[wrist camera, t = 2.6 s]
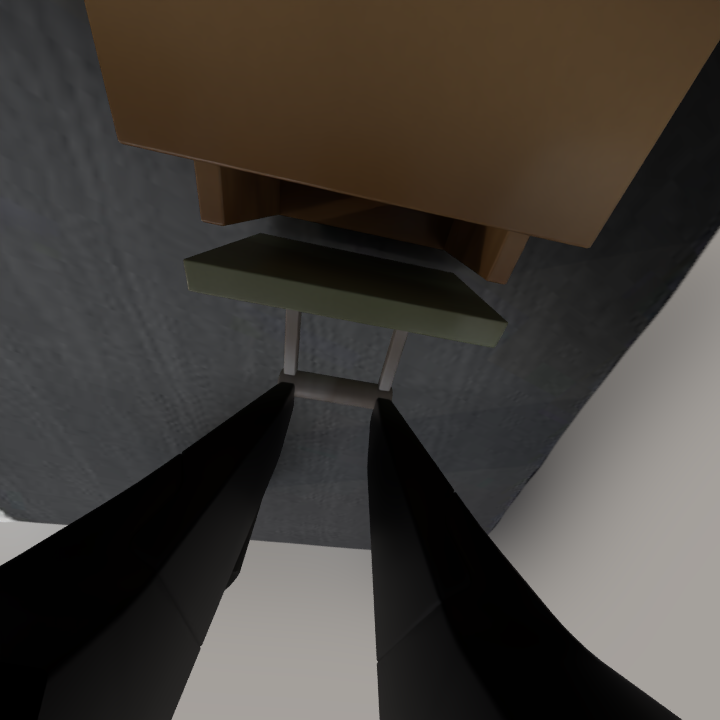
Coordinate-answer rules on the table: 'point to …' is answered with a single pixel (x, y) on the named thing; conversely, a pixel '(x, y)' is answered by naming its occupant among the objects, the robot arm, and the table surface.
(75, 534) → the robot arm
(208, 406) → the table surface
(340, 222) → the drawer
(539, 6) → the cabinet
